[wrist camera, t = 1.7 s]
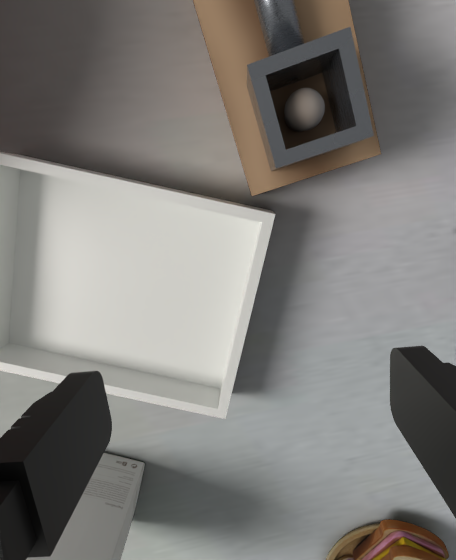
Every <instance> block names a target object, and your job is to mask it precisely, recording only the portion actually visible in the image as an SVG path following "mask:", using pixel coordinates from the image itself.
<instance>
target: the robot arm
mask: <svg viewBox="0 0 456 560" xmlns="http://www.w3.org/2000/svg"><path fill="white" fill-rule="evenodd" d="M390 406H391V411H392V415H393V418H394V421H395V423H396V425H397V427H398V428H399V430H400V431H401V433H402V435H403V436H404V438H405V439H406V441H407V442H408V444H409V446H410V447H411V449H412V450H413V452H414V453H415V455H416V457H417V458H418V460H419V461H420V463H421V464H422V466H423V468H424V469H425V471H426V472H427V474H428V475H429V477H430V478H431V480H432V482H433V483H434V485H435V486H436V488H437V489H438V491H439V493H440V494H441V496H442V497H443V499H444V500H445V502H446V504H447V505H448V507H449V508H450V510H451V511H452V513H453V515H454V516H455V518H456V366H454V365H452V364H450V363H443V362H441V361H440V360H439V359H438V358H437V357H436V356H435V355H434V354H433V353H431V352H430V351H429V350H428V349H427V348H426V347H424V346H414V347H401V348H393V349H392V351H391V355H390ZM111 431H112V421H111V415H110V410H109V406H108V401H107V396H106V391H105V387H104V382H103V378H102V375H101V373H100V372H99V371H87V372H74V373H70V374H68V375H67V376H66V377H65V379H64V380H63V381H62V382H61V383H60V384H59V385H58V386H57V387H56V388H55V390H54V391H53V392H50V393H48V394H47V395H45V396H44V397H42V398H41V399H39V400H38V401H36V402H35V403H33V404H32V405H31V406H30V407H29V408H28V410H27V411H26V412H25V413H24V414H23V415H22V416H21V419H18V420H17V421H16V422H15V423H14V424H13V425H12V426H11V430H8V431H7V432H6V433H5V434H4V435H3V436H2V437H1V438H0V560H26V559H27V558H30V557H51V555H52V553H53V551H54V549H55V547H56V545H57V543H58V541H59V539H60V537H61V535H62V533H63V531H64V529H65V527H66V525H67V523H68V522H69V520H70V518H71V516H72V514H73V512H74V510H75V508H76V506H77V504H78V502H79V500H80V498H81V496H82V494H83V492H84V490H85V488H86V486H87V485H88V483H89V481H90V479H91V477H92V475H93V473H94V471H95V469H96V467H97V465H98V463H99V461H100V459H101V457H102V455H103V453H104V451H105V449H106V448H107V446H108V443H109V441H110V437H111Z"/></svg>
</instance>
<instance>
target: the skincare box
mask: <svg viewBox="0 0 456 560" xmlns="http://www.w3.org/2000/svg"><path fill="white" fill-rule="evenodd" d="M144 466H145V463H143V462H140V461H136V460H132V459H128V458H124V457H120V456H116V455H112V454H107V453H103V455H102V457H101V459H100V461H99V463H98V465H97V467H96V469H95V471H94V473H93V475H92V477H91V479H90V481H89V483H88V485H87V486H86V488H85V490H84V492H83V494H82V496H81V498H80V500H79V502H78V504H77V506H76V508H75V510H74V512H73V514H72V516H71V518H70V520H69V522H68V523H67V525H66V527H65V529H64V531H63V533H62V535H61V537H60V539H59V541H58V543H57V545H56V547H55V549H54V551H53V553H52V555H51V557H30V558H27V559H26V560H120V559H121V556H122V553H123V549H124V546H125V543H126V540H127V536H128V533H129V529H130V526H131V522H132V519H133V516H134V512H135V508H136V504H137V500H138V495H139V491H140V486H141V481H142V477H143V472H144Z"/></svg>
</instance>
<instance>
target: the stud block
mask: <svg viewBox="0 0 456 560" xmlns="http://www.w3.org/2000/svg"><path fill="white" fill-rule="evenodd" d="M193 2H194V6H195V9H196V12H197V16H198V19H199V22H200V26H201V29H202V32H203V36H204V39H205V42H206V46H207V49H208V52H209V56H210V59H211V62H212V66H213V69H214V72H215V76H216V79H217V82H218V86H219V89H220V92H221V96H222V99H223V102H224V106H225V109H226V112H227V116H228V119H229V122H230V126H231V129H232V132H233V136H234V139H235V142H236V146H237V149H238V152H239V156H240V159H241V162H242V166H243V169H244V172H245V176H246V179H247V182H248V186H249V189H250V192H251V195H252V196H254V195H257V194H260V193H263V192H266V191H270V190H273V189H276V188H279V187H282V186H285V185H288V184H291V183H294V182H297V181H300V180H303V179H306V178H309V177H312V176H315V175H318V174H322V173H325V172H328V171H331V170H334V169H337V168H340V167H343V166H346V165H349V164H352V163H355V162H358V161H361V160H364V159H367V158H370V157H374V156H377V155H380V154H381V151H380V146H379V141H378V137H377V132H376V127H375V123H374V118H373V113H372V109H371V104H370V99H369V95H368V90H367V85H366V81H365V76H364V71H363V67H362V62H361V57H360V53H359V48H358V43H357V39H356V34H355V29H354V24H353V20H352V15H351V10H350V6H349V1H348V0H294V2H295V6H296V10H297V14H298V18H299V22H300V26H301V31H302V35H303V39H304V43H307V42H310V41H312V40H315V39H318V38H321V37H323V36H326V35H329V34H331V33H334V32H337V31H339V30H342V29H345V28H348V27H351V31H352V36H353V41H354V45H355V50H356V55H357V59H358V64H359V68H360V73H361V78H362V82H363V87H364V92H365V96H366V101H367V105H368V110H369V115H370V119H371V124H372V129H373V133H374V136H372V137H370V138H367V139H364V140H362V141H359V142H357V143H354V144H351V145H348V146H345V147H342V148H339V149H336V150H333V151H330V152H327V153H324V154H321V155H318V156H315V157H312V158H309V159H306V160H303V161H300V162H297V163H294V164H291V165H288V166H285V167H282V168H279V169H276V170H273V171H271V170H270V167H269V163H268V159H267V156H266V152H265V149H264V145H263V142H262V138H261V135H260V131H259V128H258V124H257V121H256V117H255V114H254V110H253V107H252V103H251V99H250V96H249V92H248V89H247V65H248V64H251V63H253V62H256V61H259V60H261V59H264V58H267V57H269V55H268V51H267V48H266V44H265V40H264V36H263V33H262V29H261V25H260V21H259V18H258V14H257V10H256V6H255V3H254V0H193ZM270 93H271V97H272V101H273V104H274V108H275V112H276V116H277V119H278V123H279V127H280V130H281V134H282V138H283V141H284V145H285V149H286V150H287V149H290V148H293V147H296V146H299V145H302V144H305V143H307V142H310V141H313V140H316V139H319V138H322V137H325V136H328V135H331V134H334V133H336V129H335V125H334V121H333V117H332V112H331V108H330V104H329V100H328V96H327V91H326V87H325V83H324V79H323V75H322V73H320V74H318V75H315V76H312V77H309V78H307V79H304V80H301V81H298V82H295V83H293V84H290V85H287V86H284V87H282V88H279V89H276V90H273V91H270Z"/></svg>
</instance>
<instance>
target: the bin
mask: <svg viewBox="0 0 456 560" xmlns="http://www.w3.org/2000/svg"><path fill="white" fill-rule="evenodd" d="M274 218H275V213H274V212H273V211H272V210H267V209H263V208H258V207H254V206H249V205H245V204H240V203H236V202H231V201H227V200H222V199H218V198H213V197H209V196H204V195H200V194H195V193H191V192H186V191H181V190H177V189H172V188H168V187H163V186H159V185H154V184H150V183H145V182H141V181H136V180H132V179H127V178H123V177H118V176H114V175H109V174H105V173H100V172H96V171H91V170H87V169H82V168H78V167H73V166H69V165H64V164H60V163H55V162H51V161H46V160H42V159H37V158H33V157H28V156H24V155H19V154H13V153H5V152H0V371H5V372H10V373H14V374H19V375H24V376H28V377H33V378H38V379H42V380H47V381H51V382H56V383H61V382H62V381H63V380H64V379H65V377H66V376H67V375H68V374H70V373H74V372H87V371H99V372H100V373H101V375H102V378H103V382H104V387H105V391H106V393H107V394H112V395H116V396H121V397H126V398H130V399H135V400H139V401H144V402H149V403H153V404H158V405H163V406H167V407H172V408H176V409H181V410H186V411H190V412H195V413H200V414H204V415H209V416H213V417H218V418H223V419H225V418H226V414H227V410H228V406H229V402H230V398H231V394H232V390H233V386H234V382H235V378H236V374H237V369H238V365H239V361H240V357H241V353H242V349H243V345H244V341H245V337H246V333H247V329H248V324H249V320H250V316H251V312H252V308H253V304H254V300H255V296H256V292H257V288H258V284H259V280H260V275H261V271H262V267H263V263H264V259H265V255H266V251H267V247H268V243H269V239H270V235H271V231H272V226H273V222H274Z"/></svg>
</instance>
